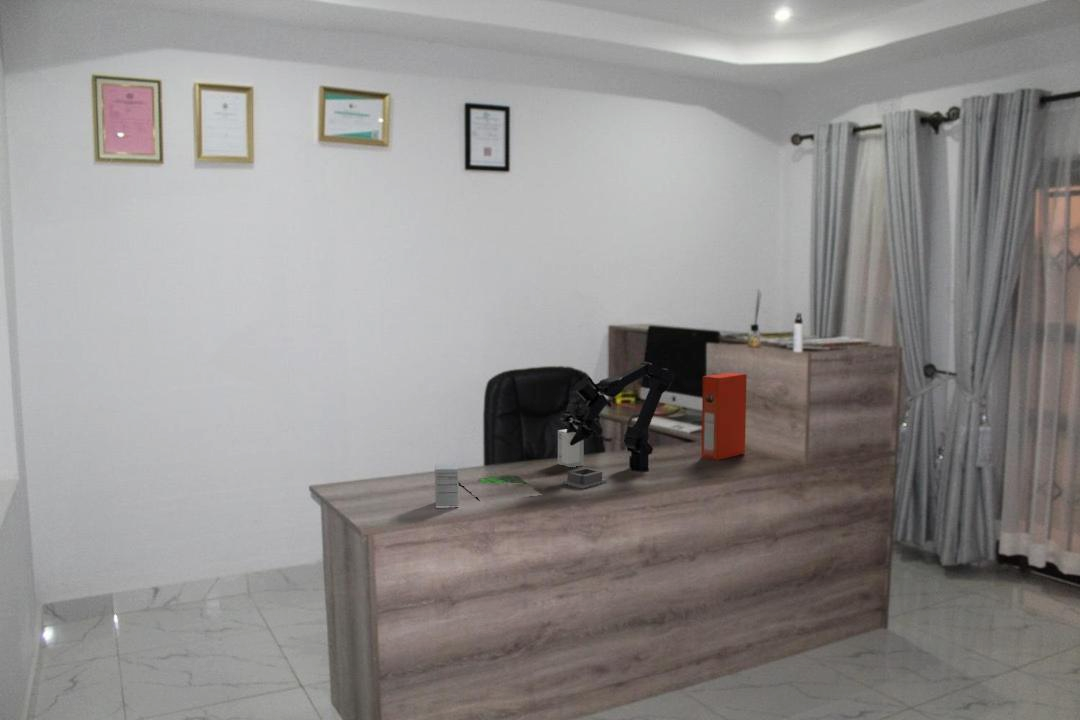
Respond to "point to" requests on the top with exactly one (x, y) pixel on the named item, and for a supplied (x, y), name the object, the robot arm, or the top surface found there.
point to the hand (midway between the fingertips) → (567, 443)
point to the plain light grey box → (570, 449)
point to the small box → (561, 451)
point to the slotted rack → (584, 477)
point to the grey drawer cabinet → (446, 485)
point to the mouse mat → (502, 480)
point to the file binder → (723, 415)
